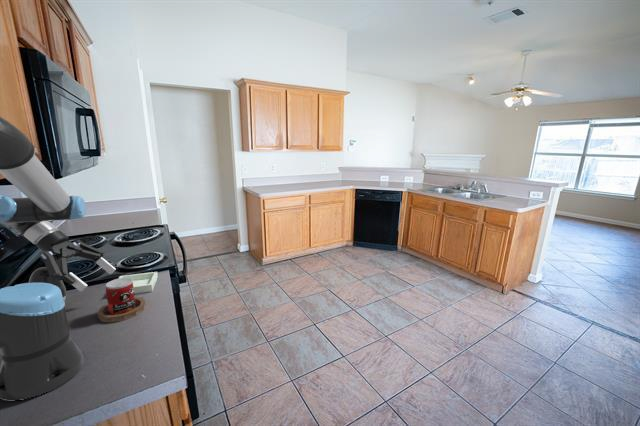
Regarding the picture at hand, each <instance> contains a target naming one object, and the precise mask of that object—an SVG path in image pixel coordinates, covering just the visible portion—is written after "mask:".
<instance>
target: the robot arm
mask: <svg viewBox="0 0 640 426" xmlns="http://www.w3.org/2000/svg"><path fill="white" fill-rule="evenodd" d="M0 175H1V176H3V177H4V179H6V180H7V181H8V182H10V183H11V185H13V187H15V188H16V189H17V190H18V191H20V192H21V194H23V195H24V196H25V197H10V196H6V195H2V194H1V195H0V224H1V225H4V226H8V227H12V228H13V229H14V230H15V231H17V232H18V233H19V234H21V235H22V236H23V237H25V238H26V239H27V240H28V241H29V242H31V243H32V244H33V245H36V247H37V248H38V249H39V250H41V251H42V252H43V253H41V254H40V256H39V258H40V260H41V261H42V262H44V265H45V267H47V269H48V272H49V274H50V276H51V278H52V279H53V280H56V279H57V280H59V281H60V280H62V281H64V282H65V283H66V284H68V285H69V286H73V287H74V288H75V289H76V290H78V291H79V292H83V291H84V290H85V289H86V288H87V287H88V284H87V283H86V282H84V281H83V280H82V279H80V278H79V277H78V276H77V275H76V274H74V273H73V272H69V271H68V263H67V260H68V259H70V258H73V257H74V258H75V257H80V258H83V259H88V260H90V261H95V264H97V265H98V266H99V267H100V268H101V269H103V270H104V271H105V272H107V274H109V275H111V274H113V273H114V271H116V269H117V268H115V267H114V266H113V265H112V264H111V263H110V261H108V260H107V259H106V258H105V257H104V256H105V254H106V252H104V251H103V250H100V249H98V248H95V247H93V246H91V245H89V244H87V243H84V242H82V240H80V239H76V240H75V241H74V242H71V241H70V240H69V236H67V235H66V234H65V233H64V232H62V231H61V230H59V228H58V227H57V226H56V225H54V224H53V223H52V222H53V221H71V220H79V219H82V218H84V217H85V216H86V209H87V206H86V201H85V200H84V198H83V197H82V196H81V195H69V194H68V193H67V192H66V190H64V188H63V187H62V186H61V185H60V183H59V182H58V181H57V180H56V179H55V178H54V175H52V173H50V172H49V170H48V169H47V168H46V167H45V165H44V164H43V163H42V162H41V161H40V159H39V158H38V157H37V155H36V147H35V145H34V144H33V143H32V141H31V140H30V139H29V138H28V136H27V135H26V134H25V133H24V132H23V131H22V130H20V129H19V128H18V127H17V126H15V125H14V124H13V123H11V122H9V120H7V119H5V118H4V117H2V116H0ZM50 221H51V222H50ZM0 358H1V363H0V398H2V399H7V400H20V399H26V398H30V399H32V398H31V397H34V398H36V397H35V396H37V397H39V396H41V395H40V394H42V395H44V394H43V393H45V394H47V393H49V392H51V391H53V390H55V389H57V388H59V387H60V386H63V385H64V384H65V383H67V382H69V380H72V379H73V377H75V376H76V375H77V374H78V373H79V372H80V370H81V369H82V367H83V366H84V356H83V352H82V351H81V349H80V348H79V347H78V346H77V344H76V343H75V342H74V340H73V339H72V338H71V335H70V329H69V324H68V318H67V312H66V301H65V300H64V299H63V297H62V293H61V290H60V288H59V287H57V286H55V285H53V284H49V283H28V282H24V283H19V284H14V286H13V285H12V286H4V287H3V288H0ZM46 392H47V393H46ZM38 395H39V396H38Z"/></svg>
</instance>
